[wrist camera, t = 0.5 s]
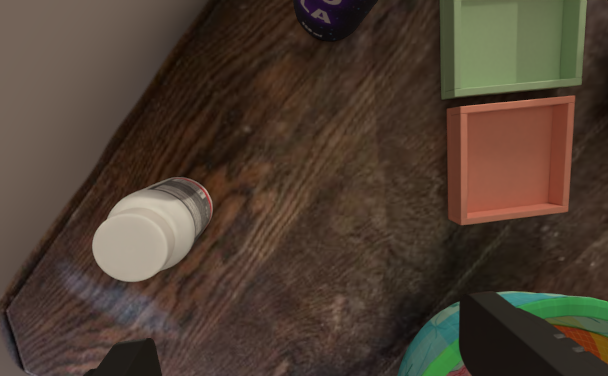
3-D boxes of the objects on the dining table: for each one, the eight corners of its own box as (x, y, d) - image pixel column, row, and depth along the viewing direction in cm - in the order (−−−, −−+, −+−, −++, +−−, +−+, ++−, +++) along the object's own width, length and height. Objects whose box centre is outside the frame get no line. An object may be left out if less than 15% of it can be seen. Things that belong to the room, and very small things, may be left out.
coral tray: (446, 108, 27) (460, 106, 25) (553, 98, 28) (575, 95, 26) (447, 219, 29) (461, 225, 27) (548, 206, 30) (568, 212, 28)
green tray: (438, -43, 25) (453, -59, 23) (566, -50, 26) (591, -66, 24) (440, 99, 27) (454, 96, 25) (558, 88, 28) (581, 84, 26)
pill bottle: (166, 245, 27) (104, 307, 17) (138, 189, 26) (57, 222, 16) (224, 223, 27) (195, 273, 17) (199, 166, 26) (154, 185, 16)
